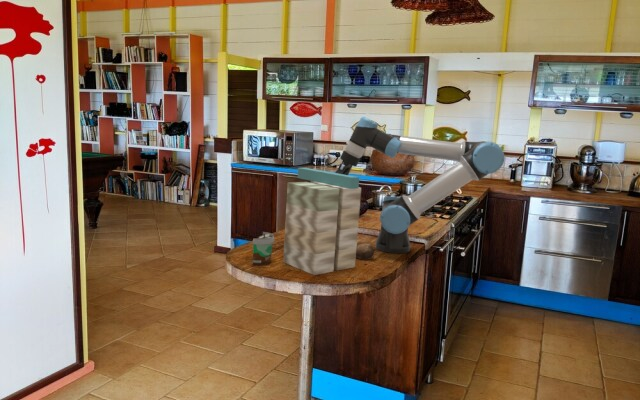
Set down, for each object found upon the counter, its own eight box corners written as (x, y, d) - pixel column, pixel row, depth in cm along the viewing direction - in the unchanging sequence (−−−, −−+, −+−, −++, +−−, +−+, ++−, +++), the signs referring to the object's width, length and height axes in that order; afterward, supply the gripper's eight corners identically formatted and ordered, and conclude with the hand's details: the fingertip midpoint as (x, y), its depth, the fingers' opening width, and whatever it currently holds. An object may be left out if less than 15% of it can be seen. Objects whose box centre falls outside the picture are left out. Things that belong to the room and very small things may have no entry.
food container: (267, 267, 180) (269, 240, 179) (251, 265, 181) (252, 238, 180) (277, 258, 192) (279, 233, 191) (262, 257, 193) (263, 231, 192)
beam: (297, 177, 201) (298, 167, 200) (305, 177, 203) (305, 167, 203) (350, 188, 179) (351, 177, 178) (358, 188, 181) (359, 177, 181)
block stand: (283, 262, 188) (287, 182, 184) (322, 255, 202) (328, 181, 197) (314, 275, 175) (320, 189, 170) (354, 267, 188) (361, 187, 184)
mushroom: (363, 246, 208) (364, 236, 203) (377, 257, 204) (378, 247, 199) (349, 256, 204) (350, 247, 200) (364, 268, 200) (365, 258, 196)
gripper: (350, 149, 216) (328, 193, 220) (337, 149, 192) (312, 197, 197) (365, 157, 215) (342, 201, 219) (354, 158, 191) (328, 207, 195)
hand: (328, 199), depth 208 cm, fingers open, 13 cm apart
